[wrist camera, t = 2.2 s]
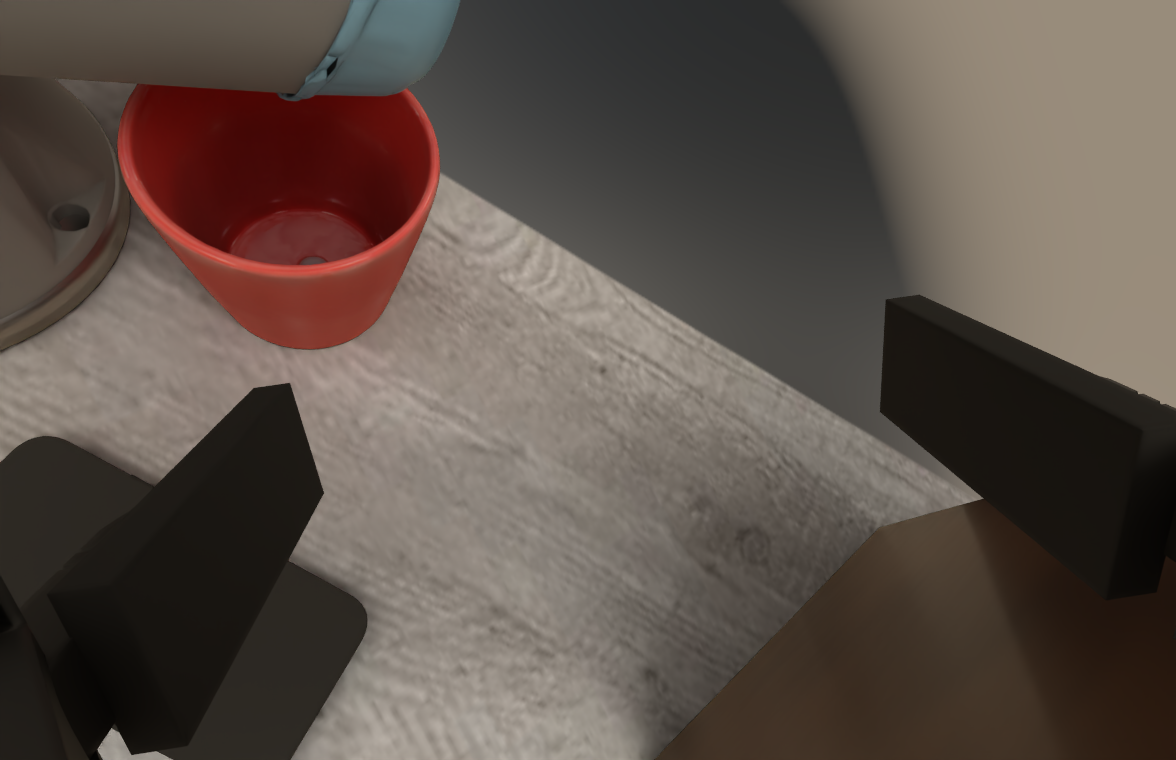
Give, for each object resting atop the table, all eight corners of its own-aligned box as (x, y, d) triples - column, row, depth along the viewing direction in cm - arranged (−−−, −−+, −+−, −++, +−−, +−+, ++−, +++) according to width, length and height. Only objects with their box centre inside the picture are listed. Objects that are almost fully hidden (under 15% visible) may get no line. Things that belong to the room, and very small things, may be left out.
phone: (261, 807, 23) (-141, 602, 22) (264, 803, 24) (-126, 604, 23) (380, 609, 27) (38, 423, 26) (379, 611, 28) (47, 429, 27)
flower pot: (462, 256, 35) (492, 125, 27) (343, 424, 30) (334, 327, 22) (282, 152, 35) (255, -17, 26) (128, 307, 29) (30, 159, 21)
